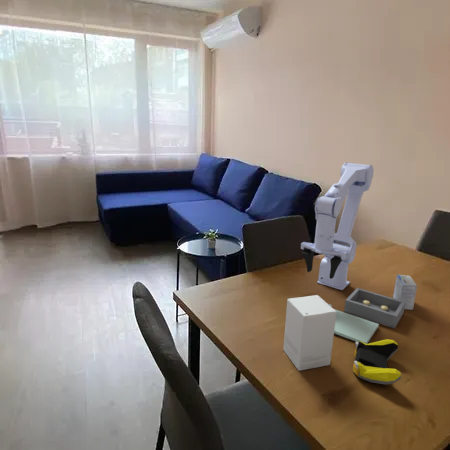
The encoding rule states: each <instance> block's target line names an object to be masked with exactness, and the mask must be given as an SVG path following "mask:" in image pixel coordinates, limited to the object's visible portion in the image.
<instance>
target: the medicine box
mask: <svg viewBox="0 0 450 450" xmlns="http://www.w3.org/2000/svg"><path fill="white" fill-rule="evenodd" d="M417 288H418V285H417V284H416V282H415V281H414V279H413V278H412V277H411V276H410V275H404V274H397V275H396V277H395V283H394V290H393V294H392V295H393V296H392V298H394V299H397V300H401V301H404V302H405V308H404V310H409V311H413V310H414V305H415V300H416V296H417Z"/></svg>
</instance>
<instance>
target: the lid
mask: <svg viewBox="0 0 450 450" xmlns="http://www.w3.org/2000/svg"><path fill="white" fill-rule="evenodd" d="M327 304H328V305H329V306H331V307H332V305H333V304H330V303H327ZM332 308H333V307H332ZM333 309H334V310H335V311H336V312H337V314H336V322H335V329H334V335H338V336H340V337H342V338H346V339H348V340H351V341H353V342H355V343H356V342H359V341H361V342H364V343H366V344H369V342H370V341H371V338H372V337H373V335H374V334H375V333H376V331H377V329H378V328H379V325H380V323H377V322H374V321H371V320H368V319H365V318H362V317H359V316H356V315H353V314H350V313H347V312H344V311H341V310H338V309H335V308H333Z"/></svg>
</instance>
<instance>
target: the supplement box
mask: <svg viewBox="0 0 450 450" xmlns="http://www.w3.org/2000/svg"><path fill="white" fill-rule="evenodd" d="M328 304H329V303H327V302H326V301H325V300H324V299H323V298H322V297H321V296H319V295H318V294H315V295H314V294H313V295H307V296H301V297H300V296H299V297H291V298H287V301H286V310H285V311H286V312H285V325H284V336H283V351H284V353H285V354H286V355H287V357H288V359H289V360H290V361H291V362H292V364H293V365H294V367H295V368H296V369H297V371H299V372H301V371H305V370H310V369H315V368H320V367H326V366H330V365H331V361H332V352H333V344H334V335H335V333H334V329H335V322H336V314H337V312H336V311H335V310H336V309H335V308H333V307H331V306H329V305H328ZM334 309H335V310H334Z"/></svg>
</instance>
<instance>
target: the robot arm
mask: <svg viewBox="0 0 450 450" xmlns="http://www.w3.org/2000/svg"><path fill="white" fill-rule="evenodd" d="M373 178H374V166H373V164H362V163H355V162H354V163H351V162H344V163H343V164H342V166H341V169H340V178H339V180H338V182H335V183H333V184H332V185H331V186H330V188H329V189H328V190H327V192H326V193H324V195H323V196H320V197H318V198H317V199H316V202H315V204H314V205H315V206H314V212H315V220H316V226H315V233H314V235H315V236H314V242H313V243H312V242H306V241H303V242H301V243H300V249H301V250H303V251H302V252H301V254H302V257H303V259H304V261H305V265H306V271H307V273H310V272H312V271H313V264H314V262H313V261H314V256H315V253H316V254H317V253H318V254H321V255H323V256H324V257H323V258H322V259H321V261H320V265H319V271H318V278H317V279H318V280H317V284H320V285H324V286H327V287H330V288H334V289H337V290H340V291H343V290H344V289H345V288H346V287H348V285H350V284H351V283H350V282H351V281H349V280H348V279H347V278H348V271H349V264H351V263H352V262H353V261H354V260H355V257H356V252H357V242H356V241H355V240H354V239H353V237H352V233H353V229H354V226H355V221H356V220H357V215H358V212H359V211H358V210H359V207H360V203H361V200H362V197H363V194H364V192H366V191H369V190H370V187H371V185H372V181H373ZM344 201H345V203H344ZM343 203H344V207H343V211H342V213H341V209H342V206H343ZM340 213H341V217H340V221H339V224H338V228H337V231H336V223H337V218H338V216H339V214H340Z"/></svg>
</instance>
